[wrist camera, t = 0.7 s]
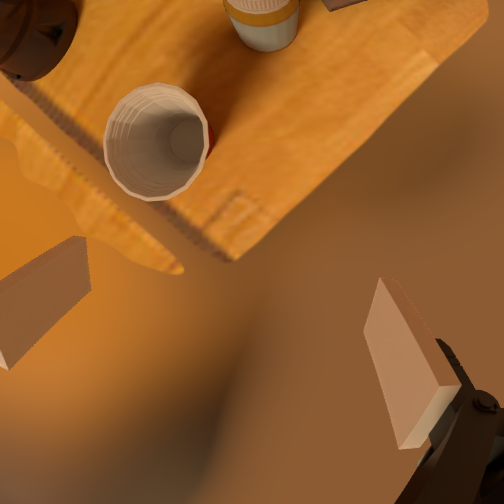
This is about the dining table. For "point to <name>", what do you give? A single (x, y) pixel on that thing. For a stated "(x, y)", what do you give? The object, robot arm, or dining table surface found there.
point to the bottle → (264, 22)
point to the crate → (339, 4)
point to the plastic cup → (156, 141)
